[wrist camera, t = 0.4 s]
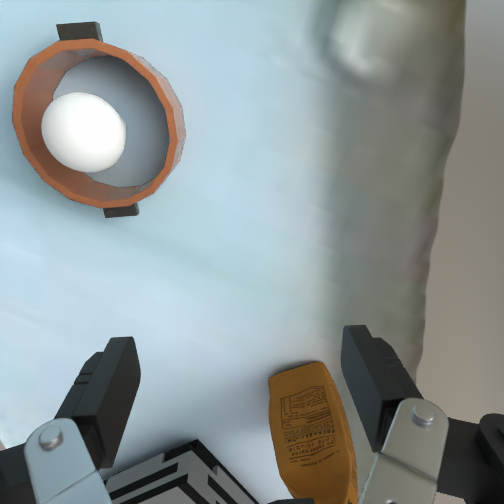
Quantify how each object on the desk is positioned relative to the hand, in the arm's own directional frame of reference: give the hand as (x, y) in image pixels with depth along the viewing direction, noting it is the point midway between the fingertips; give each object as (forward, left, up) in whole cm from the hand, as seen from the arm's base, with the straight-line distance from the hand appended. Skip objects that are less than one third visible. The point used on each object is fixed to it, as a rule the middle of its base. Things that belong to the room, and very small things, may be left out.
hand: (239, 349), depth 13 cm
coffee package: (+32, +7, -28) cm, 42 cm away
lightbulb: (-7, -12, -28) cm, 31 cm away
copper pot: (-7, -12, -27) cm, 31 cm away
